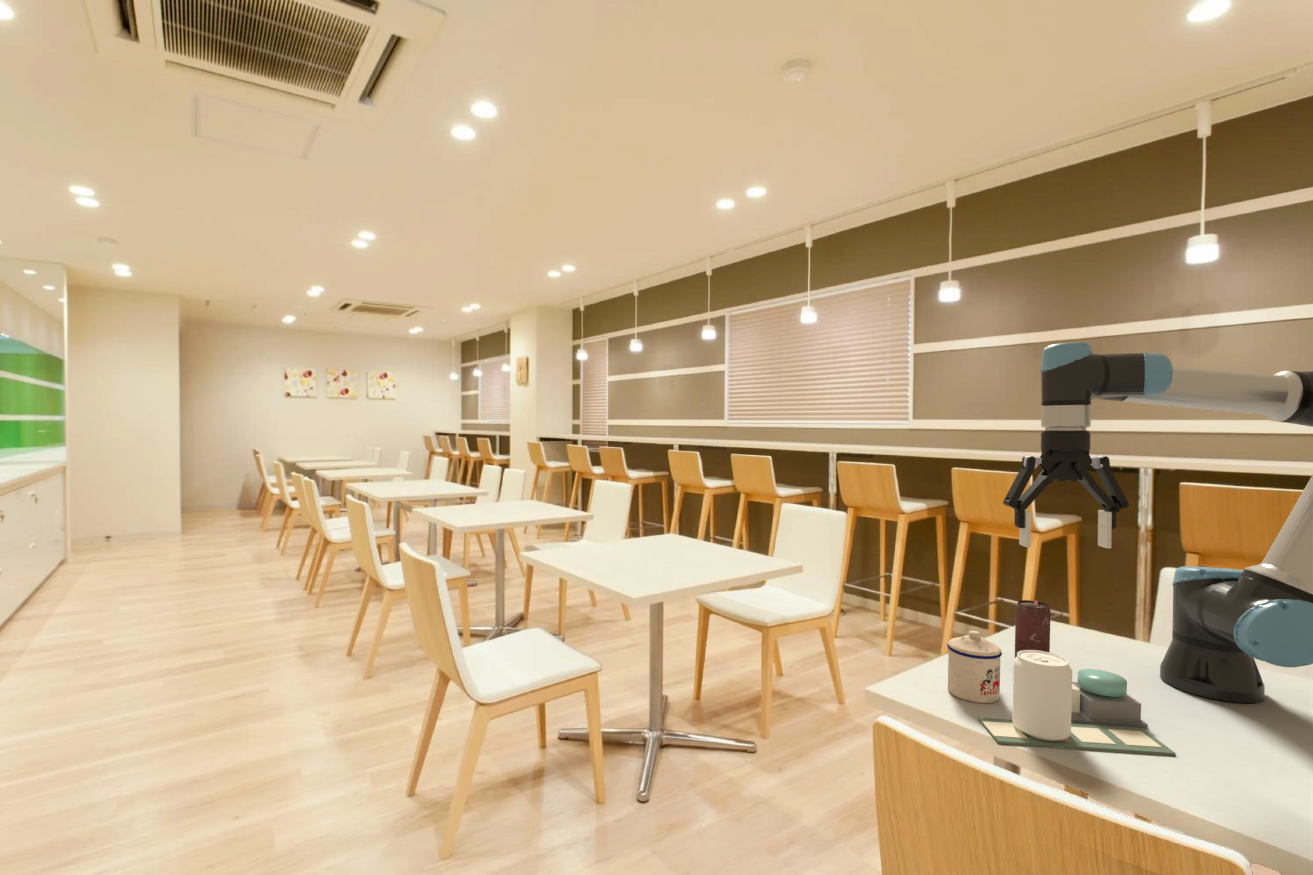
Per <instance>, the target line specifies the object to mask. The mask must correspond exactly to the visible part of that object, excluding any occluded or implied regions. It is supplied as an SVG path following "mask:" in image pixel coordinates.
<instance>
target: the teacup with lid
mask: <svg viewBox="0 0 1313 875" xmlns="http://www.w3.org/2000/svg"><path fill="white" fill-rule="evenodd" d="M946 647H947V648H948V651H947V652H948V657H947V660H948V661H947V663H948V664H947V689H948V691H949V692H950V694H951V695H953V696H954V697H956V698H959V699H961V700H963V701H967V702H970V703H977V704H992V703H995V702H997V701H999V700H1000V691H1001V690H1000V689H1001V688H1000V686H1001V685H1000V684H1001V657H1002V655H1003V652H1002V649H1001V647H999V645H997V644H996V643H994V642H991V641H988V640H987V639H986V638H984V637H982V636H981V633H980V632H979V630H978V631H977V630H969V631H968V633H967V634H965V635H962V636H959V637H953V638H951V639H949V640H948V642H947V646H946Z"/></svg>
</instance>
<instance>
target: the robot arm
mask: <svg viewBox="0 0 1313 875" xmlns="http://www.w3.org/2000/svg"><path fill="white" fill-rule="evenodd" d="M1170 359H1171V358H1169V357H1168V356H1167V355H1166V354H1163V353H1161V352H1159V353H1158V352H1146V351H1142V352H1135V353H1130V352H1129V353H1110V354H1109V353H1107V354H1106V353H1104V354H1103V353H1100V354H1098V353H1093V349H1092V346H1091V344H1090V343H1088V342H1075V341H1074V342H1061V343H1060V342H1059V343H1054V344H1050V345H1047V346H1046V347H1044V348H1043V350H1042V355H1041V362H1040V363H1041V366H1040V375H1041V377H1040V379H1041V380H1040V381H1041V386H1040V387H1041V402H1040V403H1041V407H1040V408H1041V409H1040V412H1041V413H1040V417H1041V418H1040V421H1041V422H1040V426H1041V428H1044V430H1042V431H1041V432H1040V450H1041V454H1040V456H1039V457H1035V456H1031V455H1024V456H1022V458H1021V466H1020V469H1019V471H1018V472H1017V475H1016V476H1015V478H1014V480H1013V482H1012V484H1011V486H1010V488H1009V489H1008V492H1007V494H1006V495H1005V497H1004V499H1003V502H1002V503H1003V505H1004V506H1007V507H1009V508H1012V509H1013V511H1014V526H1015V528H1018V529H1019V531H1018V533H1019V537H1018V538H1019V539H1018V542H1019V543H1018V544H1019V545H1020V546H1022V547H1025V548H1031V547H1032V546H1031V543H1032V540H1031V538H1032V536H1031V535H1032V534H1031V532H1032V511H1031V510H1027V509H1028V508H1029V507H1030V505H1031V504H1032V503H1033V502H1034V501H1035V500H1036V499H1037V497H1038V496H1040V494H1041V493H1042V492H1044V490H1045V489H1046V488H1047V487H1048V486H1049V485H1050V484H1052V483H1053V482H1054V481H1055V482H1066V481H1069V482H1078V483H1080V484H1081V485H1082V486H1083V487H1084V488H1085V489H1086V491H1087V492H1088V493H1089V494H1090V495H1091V496H1092V497H1093V499H1094V500H1095V501H1096V502H1097V503H1098V504H1099V505H1100V507H1101V508H1102V509H1098V510H1097V515H1098V516H1097V546H1098V547H1101V548H1103V549H1104V548H1105V549H1112V530H1115V529H1116V527H1117V513H1119V512H1121V509H1127V508H1129V506H1130V505H1129V504H1130V503H1129V502H1128V500H1127V497H1126V496H1125V493H1124V492H1123V490H1122V488H1121V486H1120V484H1119V482H1118V480H1117V478H1116V477H1115V475H1114V473H1113V470H1112V469H1111V463H1110V462H1111V461H1110V458H1109V456H1104V455H1096V456H1094V457H1091V455H1090V451H1091V432H1090V430H1087V429H1088V428H1090V427H1091V423H1092V422H1091V421H1092V419H1091V416H1092V414H1091V412H1092V411H1091V406H1092V400H1100V401H1103V400H1104V401H1110V402H1111V401H1112V402H1124V403H1125V402H1126V403H1136V404H1147V405H1158V406H1165V407H1167V406H1168V407H1177V408H1178V407H1179V408H1187V409H1189V408H1190V409H1197V410H1210V411H1218V412H1229V413H1238V414H1239V413H1240V414H1241V413H1242V414H1249V415H1250V414H1251V415H1260V416H1264V417H1265V418H1266V419H1267V420H1269V421H1271V422H1276V423H1277V422H1278V423H1285V424H1286V423H1288V424H1294V425H1299V426H1306V427H1311V428H1313V370H1312V371H1295V370H1294V371H1293V370H1281V371H1279V372H1278V371H1277V373H1275V374H1264V373H1252V372H1239V371H1227V370H1225V371H1224V370H1214V369H1205V368H1203V369H1201V368H1192V367H1180V366H1179V367H1178V366H1173V364H1172V362H1171V360H1170ZM1039 466H1040V467H1041V469H1042V470H1041V471H1040V473H1039V474H1038V475H1037V476H1036V479H1035V480H1034V481H1033V482H1032V483H1031V484H1030V486H1028V488H1027V489H1026V487H1027V485H1028V483H1029V481H1030V479H1031V477H1032V476H1033V473H1034V472H1035V469H1037V468H1038V467H1039ZM1091 466H1092V467H1093V469H1095V471H1096V474H1097V476H1098V477H1099V479H1100V481H1101V483H1102V485H1103V487H1104V489H1105V490H1106V491H1104V490H1103V488H1102V487H1101V486H1100V485H1099V484H1098V483H1097V482H1096V481H1095V478H1094V477H1093V476H1092V474H1091V473H1090V472H1089V471H1088V470H1089V468H1090V467H1091ZM1025 489H1026V490H1025ZM1024 490H1025V491H1024ZM1173 575H1174V576H1173V582H1172V589H1173V590H1172V592H1173V593H1172V637H1171V641H1170V644H1169V646H1168V648H1167V650H1166V652H1165V655H1164V657H1163V659H1162V661H1161V663H1160V666H1159V678H1160V679H1161V680H1162V681H1163V682H1165V683H1166V684H1167V685H1170V686H1171V687H1173V688H1175V689H1178V690H1181V691H1183V692H1187V693H1189V694H1191V695H1196V696H1200V697H1204V698H1208V699H1213V700H1217V701H1222V702H1231V703H1240V704H1253V703H1255V704H1256V703H1261V702H1263V700H1265V695H1266V694H1265V692H1266V691H1265V684H1264V681H1263V679H1262V675H1261V673H1260V671H1259V667H1258V666H1257V665H1258V664H1257V663H1256V660H1257V661H1258V660H1259V661H1262V662H1265V663H1268V664H1271V665H1274V666H1276V667H1283V668H1300V667H1304V666H1305V667H1306V666H1309V665H1310V666H1311V665H1313V474H1312V475H1311V477H1310V479H1309V480H1308V481H1307V484H1306V485H1305V487H1304V488H1303V490H1302V492H1301V494H1300V496H1299V497H1298V498H1297V500H1296V503H1295V504H1294V506H1293V508H1292V509H1291V511H1290V513H1289V515H1288V517H1287V518H1286V520H1285V522H1284V523H1283V525H1282V527H1281V529H1280V530H1279V532H1278V534H1277V535H1276V537H1275V539H1274V540H1273V542H1272V544H1271V546H1270V548H1269V550H1268V551H1267V553H1266V555H1265V557H1264V558H1263V560H1262V562H1260V563H1259V564H1256V565H1251V566H1247V567H1245V568H1244V569H1235V568H1234V569H1233V568H1224V567H1223V568H1222V567H1211V566H1209V567H1208V566H1194V565H1193V566H1190V565H1189V566H1187V565H1185V566H1180V567H1178V568H1176V569H1175V571H1174V574H1173Z"/></svg>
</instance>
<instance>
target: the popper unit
mask: <svg viewBox="0 0 1313 875" xmlns="http://www.w3.org/2000/svg"><path fill="white" fill-rule="evenodd" d="M1071 723H1072V724H1088V725H1104V726H1119V727H1135V728H1143V729H1149V725H1148V723H1146V722H1145V720H1142V703H1141V702H1139V701H1138V700H1136V699H1135V698H1134V697H1132V696H1131V695H1129V694H1128V693H1127V694H1126V695H1125V696H1122V697H1111V696H1097V695H1096V694H1094V693H1092V692H1089V691H1087V690H1085V689H1083V688H1081V687H1080V686H1079V685H1078V681H1072V709H1071Z"/></svg>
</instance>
